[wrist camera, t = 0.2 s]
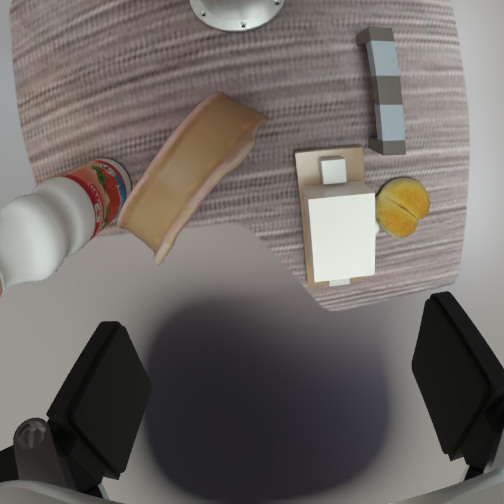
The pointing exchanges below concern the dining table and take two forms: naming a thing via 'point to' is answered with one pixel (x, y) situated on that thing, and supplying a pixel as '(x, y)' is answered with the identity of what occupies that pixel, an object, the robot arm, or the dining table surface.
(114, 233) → the dining table surface
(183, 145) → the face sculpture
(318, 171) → the white block on board
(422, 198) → the bread roll
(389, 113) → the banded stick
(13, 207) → the fruit juice
